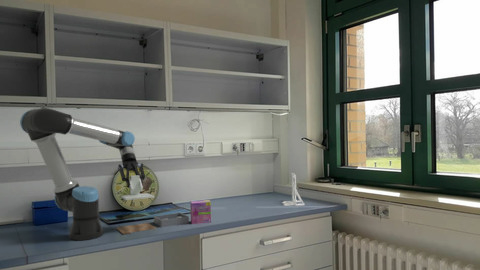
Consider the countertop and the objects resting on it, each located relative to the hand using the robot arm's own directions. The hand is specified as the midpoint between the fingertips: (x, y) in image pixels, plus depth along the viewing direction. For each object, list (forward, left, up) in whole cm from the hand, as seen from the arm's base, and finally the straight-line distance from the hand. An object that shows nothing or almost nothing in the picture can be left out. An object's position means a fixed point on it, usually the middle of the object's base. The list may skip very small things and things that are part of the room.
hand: (136, 189), depth 196 cm
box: (+32, -9, -20) cm, 39 cm away
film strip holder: (+106, +3, -20) cm, 108 cm away
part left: (+14, -3, -19) cm, 24 cm away
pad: (-1, -1, -20) cm, 20 cm away
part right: (+22, -3, -19) cm, 30 cm away
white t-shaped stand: (0, -1, -4) cm, 4 cm away
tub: (+18, -1, -20) cm, 27 cm away
